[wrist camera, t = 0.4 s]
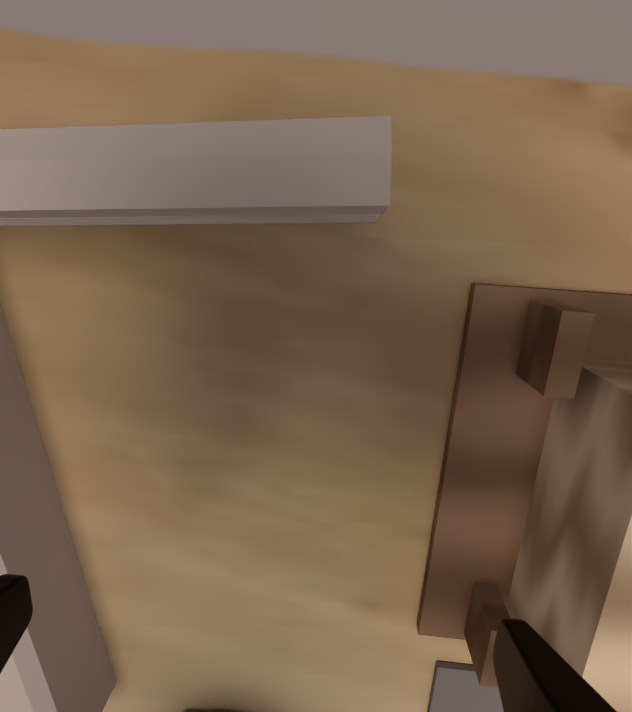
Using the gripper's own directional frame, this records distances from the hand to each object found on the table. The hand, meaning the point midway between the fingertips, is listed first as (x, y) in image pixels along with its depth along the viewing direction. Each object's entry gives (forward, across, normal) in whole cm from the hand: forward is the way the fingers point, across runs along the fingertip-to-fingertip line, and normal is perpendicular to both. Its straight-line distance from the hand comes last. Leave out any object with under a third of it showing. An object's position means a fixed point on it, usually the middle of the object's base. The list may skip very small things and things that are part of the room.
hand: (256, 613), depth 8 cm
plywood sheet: (+14, -13, +5) cm, 19 cm away
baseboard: (+14, +13, -7) cm, 20 cm away
